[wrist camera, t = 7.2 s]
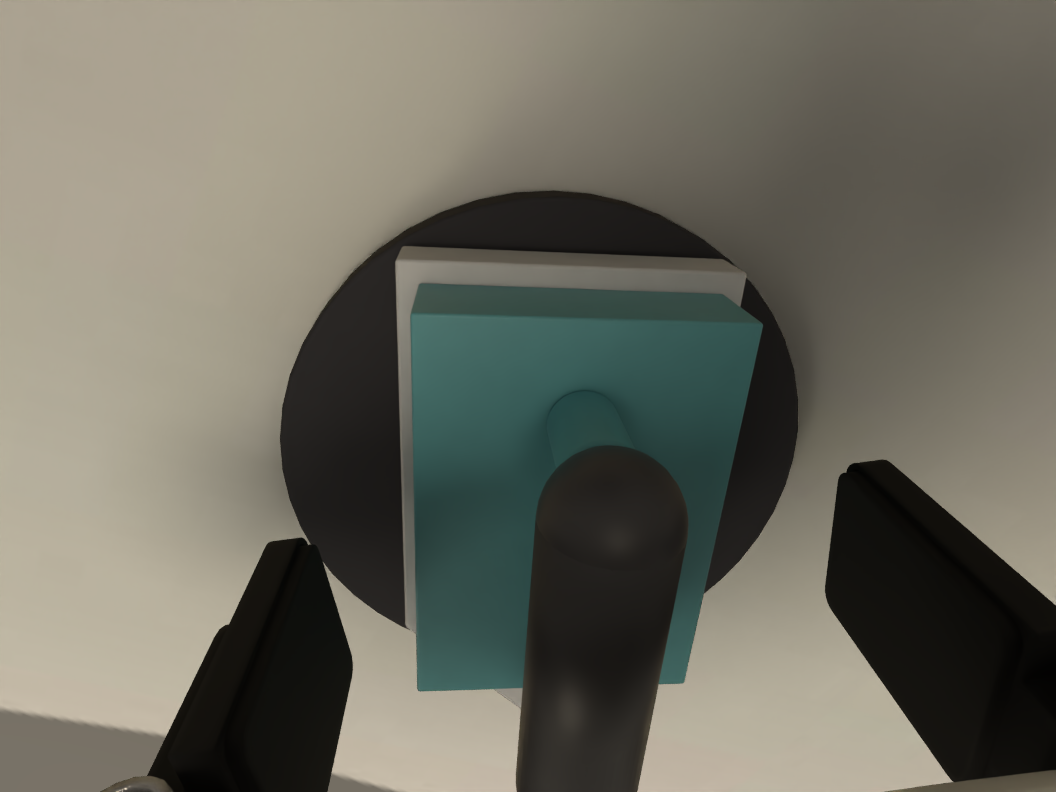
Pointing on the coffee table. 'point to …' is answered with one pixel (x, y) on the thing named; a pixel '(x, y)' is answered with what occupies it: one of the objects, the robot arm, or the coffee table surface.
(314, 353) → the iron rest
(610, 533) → the iron
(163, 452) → the coffee table surface
